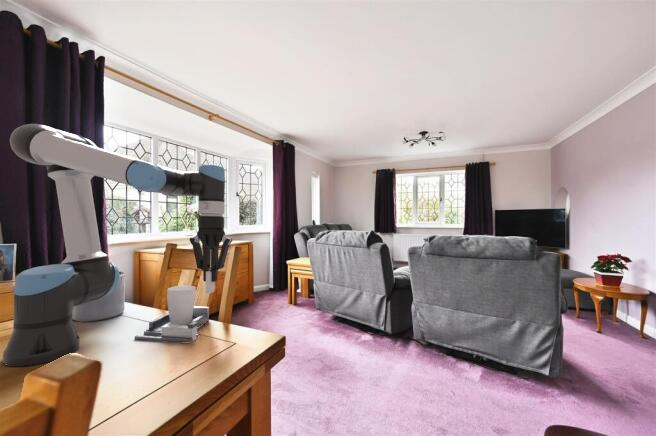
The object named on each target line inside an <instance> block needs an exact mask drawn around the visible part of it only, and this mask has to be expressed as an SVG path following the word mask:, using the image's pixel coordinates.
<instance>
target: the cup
mask: <svg viewBox="0 0 656 436" xmlns="http://www.w3.org/2000/svg"><path fill="white" fill-rule="evenodd" d="M166 293H167V294H166V302H167V303H166V304H167V309H168V310H167V311H168V313H169V318H170V324H174V325H186V324H188V323H189V322H191V321H192V315H193V309H194V306H195V302H196V296H197V294H196V286H194V285H185V284H183V285H175V286H172V287H171V286H170V287H168V288H167V291H166Z"/></svg>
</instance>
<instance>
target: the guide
mask: <svg viewBox="0 0 656 436" xmlns="http://www.w3.org/2000/svg"><path fill="white" fill-rule="evenodd" d="M157 335H162V332H160V331H146V330H144V331H143V335H135V336H134V340H136V341H149V342H162V341H168V342H167V343H176V342H191V341H192V339H183V338H168V337H162V336H157ZM198 336H200V333H199V334H198V333H197V337H198ZM198 338H199V337H198ZM191 343H192V342H191Z"/></svg>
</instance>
